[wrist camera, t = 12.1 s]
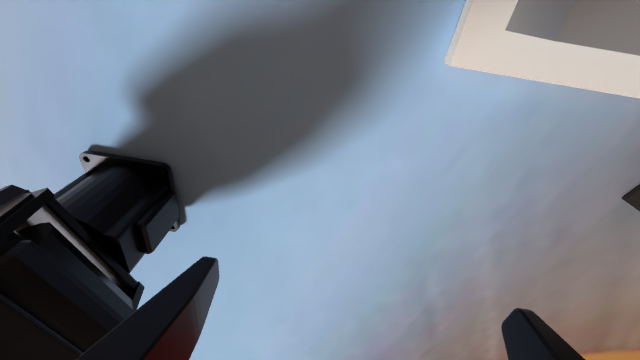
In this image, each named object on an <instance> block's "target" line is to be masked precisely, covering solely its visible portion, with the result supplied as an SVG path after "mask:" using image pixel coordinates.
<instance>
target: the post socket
mask: <svg viewBox="0 0 640 360" xmlns="http://www.w3.org/2000/svg"><path fill="white" fill-rule="evenodd" d="M444 63H446V64H447V65H449V66H453V67H459V68H465V69H470V70H476V71H482V72H488V73H494V74H500V75H506V76H511V77H517V78H523V79H529V80H535V81H541V82H547V83H552V84H558V85H564V86H570V87H576V88H582V89H588V90H593V91H599V92H605V93H611V94H617V95H623V96H629V97H635V98H640V0H466V2H465V5H464V8H463V11H462V14H461V16H460V19H459V22H458V25H457V27H456V30H455V33H454V36H453V39H452V41H451V44H450V47H449V50H448V52H447V55H446V58H445V61H444Z"/></svg>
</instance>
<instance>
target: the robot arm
mask: <svg viewBox="0 0 640 360" xmlns="http://www.w3.org/2000/svg"><path fill="white" fill-rule="evenodd" d="M79 158H80V161H81V163H82V166H83V169H84V172H85V174H83V175H82V176H80V177H79V178H77V179H76V180H74V181H73V182H71V183H70V184H69V185H67V186H66V187H64V188H63V189H61V190H60V191H58V192H57V193H55V194H53V193H52V192H51V191H50V190H49V189H48V188H45V189H41V190H38V191H35V192H30V191H29V190H24V189H22V188H19V187H17V186H14V185H9V186H6V187H4V188H2V189H0V360H189V359H190V356H191V354H192V352H193V350H194V348H195V346H196V343H197V341H198V339H199V337H200V334H201V331H202V329H203V326H204V323H205V320H206V317H207V314H208V311H209V308H210V305H211V302H212V299H213V296H214V294H215V291H216V288H217V285H218V281H219V267H218V260H217V259H216V258H212V257H202V258H201V259H199V260H198V261H197V262H196V263H194V264H193V265H192V266H191V267H189V268H188V269H187V270H186V271H185V272H183V273H182V274H181V275H180V276H178V277H177V278H176V279H175V280H173V281H172V282H171V283H170V284H168V285H167V286H166V287H165V288H163V289H162V290H161V291H160V292H158V293H157V294H156V295H155V296H153V297H152V298H151V299H150V300H149V301H147V302H146V303H145V304H144V305H142V306H141V307H140V308H139V309H137V307H138V304H139V301H140V299H141V296H142V293H143V290H144V286H143V285H142V284H141V283H140V282H137V281H136V280H135V279H134V278H133V277H132V276H131V275H130V274H129V273H130V272H131V271H132V269H133V268H134V267H135V266H136V264H137V263H138V262H139V261H140V259H141V258H142V257H143V255H144V254H150V253H152V252H153V251H154V250H155V249H156V247H157V246H158V245H159V243H160V242H161V241H162V239H163V238H164V237H165V235H166V234H167V233H168V232H169V231H173V232H175V231H177V230H178V228H179V227H180V221H179V217H180V214H179V208H178V202H177V196H176V192H175V191H174V185H173V179H172V173H171V169H170V167H169V166H168V165H167V164H164V163H160V162H153V161H147V160H141V159H135V158H129V157H123V156H117V155H111V154H105V153H99V152H93V151H85V152H83V153H81V154H80V156H79ZM161 169H163V170H164V171H165V172H164V171H162V170H161ZM136 309H137V310H136ZM502 334H503V338H504V342H505V347H506V351H507V355H508V360H585V359H584V358H583V357H582V356H581V355H580V354H578V353H577V352H576V351H575V350H574V349H573V348H572V347H571V346H570V345H569V344H568V343H567V342H566V341H564V340H563V339H562V338H561V337H560V336H559V335H558V334H557V333H556V332H555V331H554V330H553V329H552V328H550V327H549V326H548V325H547V324H546V323H545V322H544V321H543V320H542V319H541V318H540V317H539V316H537V315H536V314H535V313H534V312H533V311H531V310H527V309H521V308H516V309H514V310H513V311H512V312H511V313H510V315H509V316H508V317H507V318H506V319H505V320H504V321H503V323H502Z"/></svg>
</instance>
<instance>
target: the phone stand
mask: <svg viewBox="0 0 640 360" xmlns="http://www.w3.org/2000/svg"><path fill="white" fill-rule="evenodd" d="M622 199H623V200H625V201H626V202H627V203H629V204H630V205H632V206H633V207H635V208H636V209H637V210H639V211H640V185H639V186H638V187H637V188H635V189H634V190H632V191H631V192H630V193H628V194H627V195H625V196H624V197H623V198H622Z"/></svg>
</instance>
